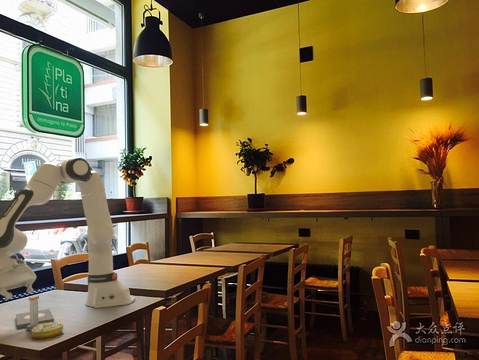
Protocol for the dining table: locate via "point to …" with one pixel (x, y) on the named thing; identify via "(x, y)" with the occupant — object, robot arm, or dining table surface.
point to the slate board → (43, 317)
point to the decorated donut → (47, 330)
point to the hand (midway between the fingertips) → (21, 294)
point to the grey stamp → (33, 313)
